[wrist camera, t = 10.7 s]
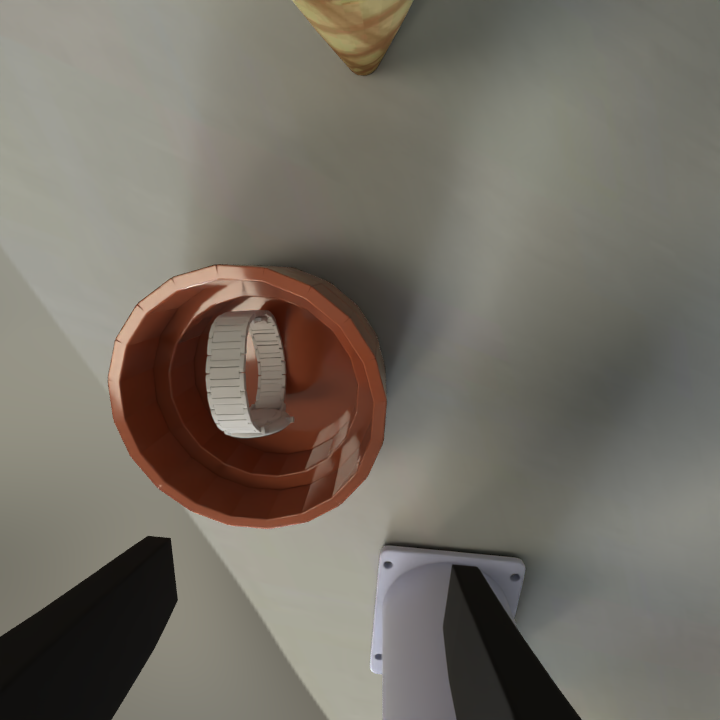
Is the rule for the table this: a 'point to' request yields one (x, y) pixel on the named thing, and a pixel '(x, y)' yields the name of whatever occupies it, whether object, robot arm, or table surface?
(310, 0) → the ice cream cone
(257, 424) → the wristwatch
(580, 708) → the table surface
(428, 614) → the robot arm
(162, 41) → the table surface
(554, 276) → the table surface
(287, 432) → the bowl
